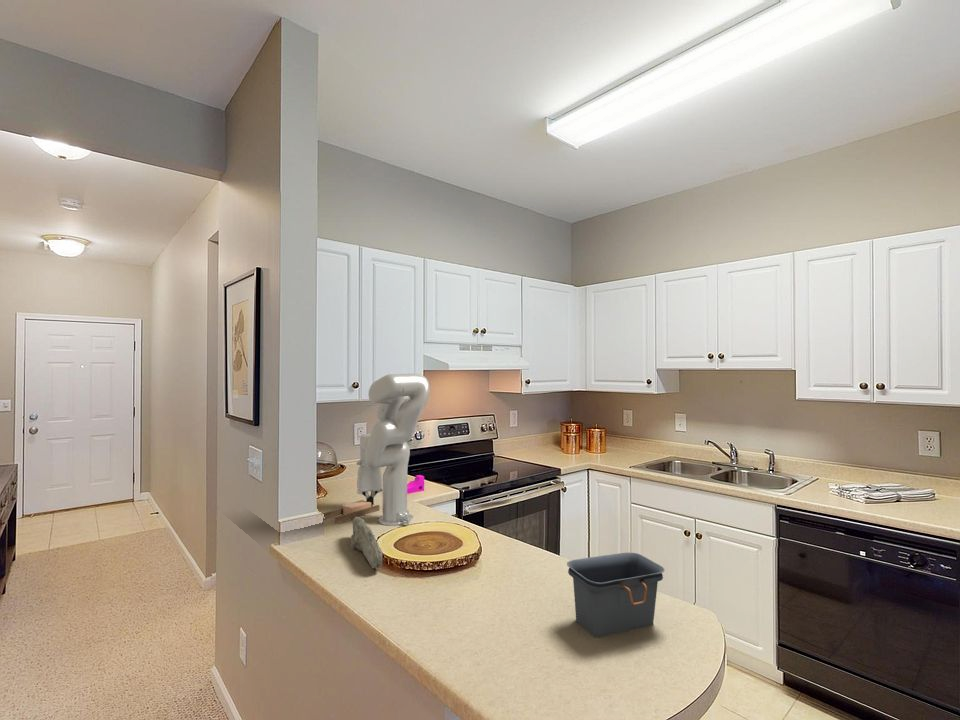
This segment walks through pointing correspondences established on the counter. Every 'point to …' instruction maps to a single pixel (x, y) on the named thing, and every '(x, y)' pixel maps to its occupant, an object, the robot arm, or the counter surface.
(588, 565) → the storage bin
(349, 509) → the block
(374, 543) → the elongated rock
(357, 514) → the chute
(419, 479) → the toy block
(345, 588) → the counter surface
